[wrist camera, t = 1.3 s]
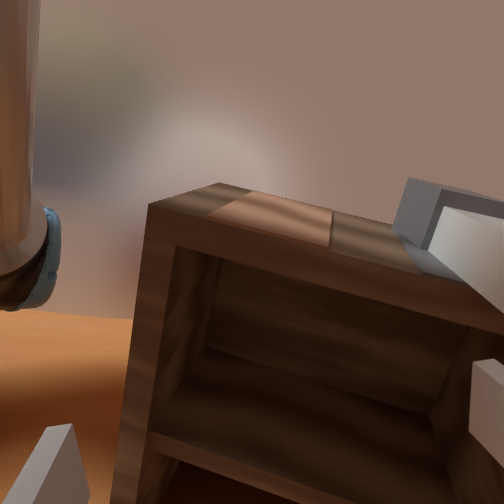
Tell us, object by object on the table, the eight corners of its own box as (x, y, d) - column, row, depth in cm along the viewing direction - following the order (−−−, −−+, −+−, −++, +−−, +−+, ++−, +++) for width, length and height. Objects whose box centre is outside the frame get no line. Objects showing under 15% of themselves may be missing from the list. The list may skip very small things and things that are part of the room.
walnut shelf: (430, 699, 28) (647, 330, 19) (102, 562, 31) (148, 200, 22) (401, 520, 41) (519, 253, 32) (172, 439, 45) (219, 180, 36)
